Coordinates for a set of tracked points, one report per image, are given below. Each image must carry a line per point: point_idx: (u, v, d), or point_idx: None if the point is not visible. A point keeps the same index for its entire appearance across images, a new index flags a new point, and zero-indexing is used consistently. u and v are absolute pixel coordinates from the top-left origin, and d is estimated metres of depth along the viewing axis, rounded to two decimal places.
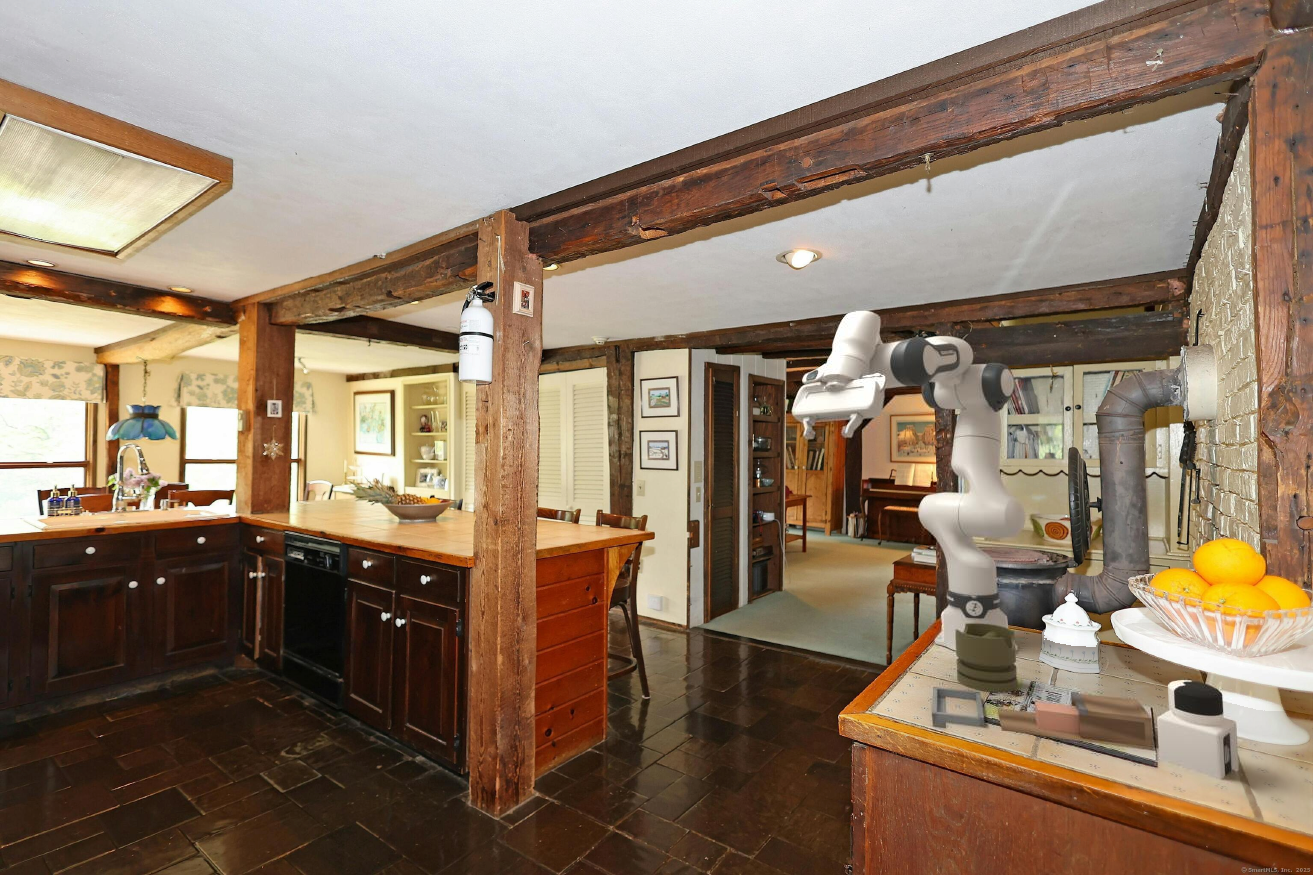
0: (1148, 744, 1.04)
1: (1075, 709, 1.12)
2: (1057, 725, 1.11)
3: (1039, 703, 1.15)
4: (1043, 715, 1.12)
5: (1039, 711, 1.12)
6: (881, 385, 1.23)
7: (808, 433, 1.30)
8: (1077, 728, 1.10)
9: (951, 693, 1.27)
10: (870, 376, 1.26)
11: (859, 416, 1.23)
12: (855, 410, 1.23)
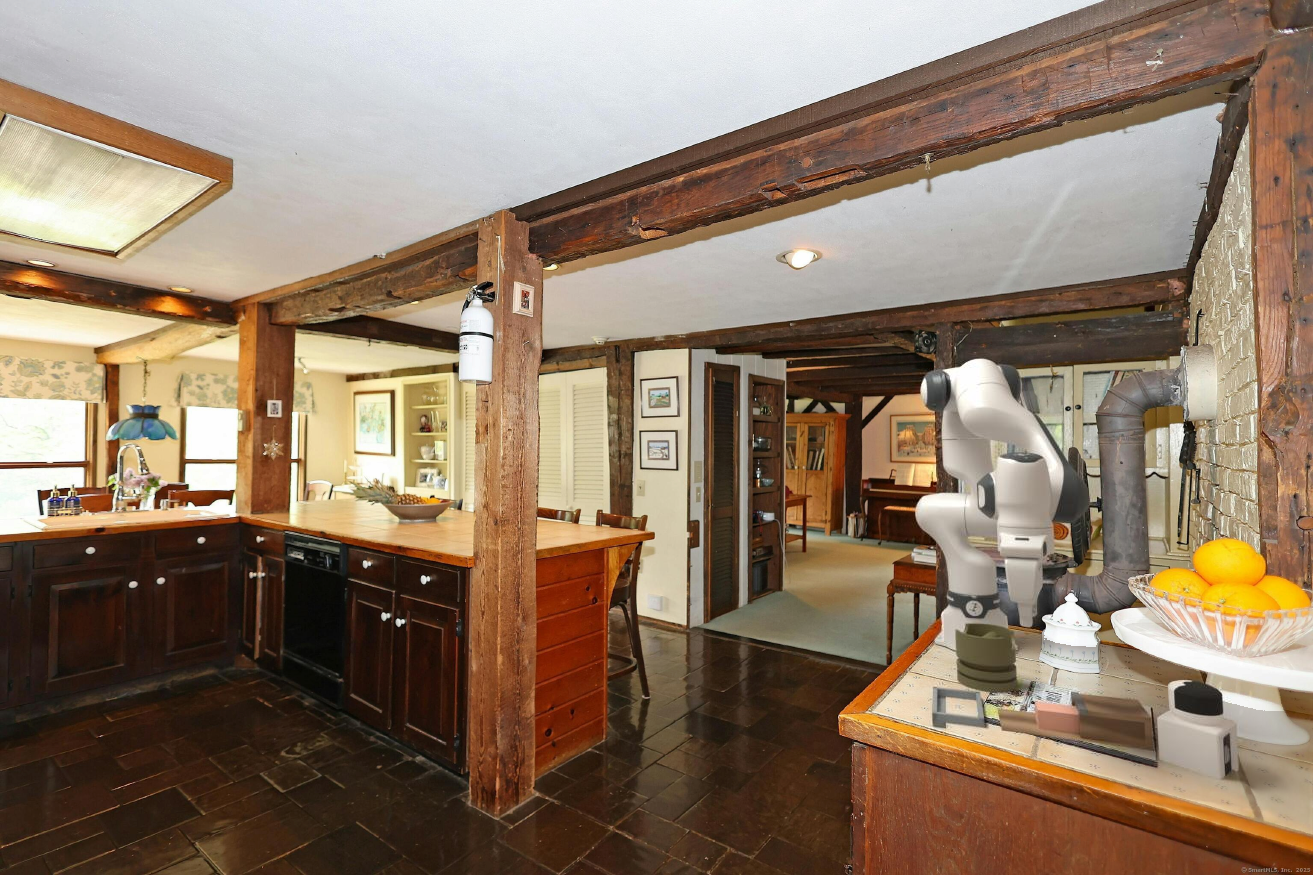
0: (1148, 744, 1.04)
1: (1075, 709, 1.12)
2: (1057, 725, 1.11)
3: (1039, 703, 1.15)
4: (1043, 715, 1.12)
5: (1039, 711, 1.12)
6: None
7: None
8: (1077, 728, 1.10)
9: (951, 693, 1.27)
10: None
11: None
12: (1040, 588, 1.17)
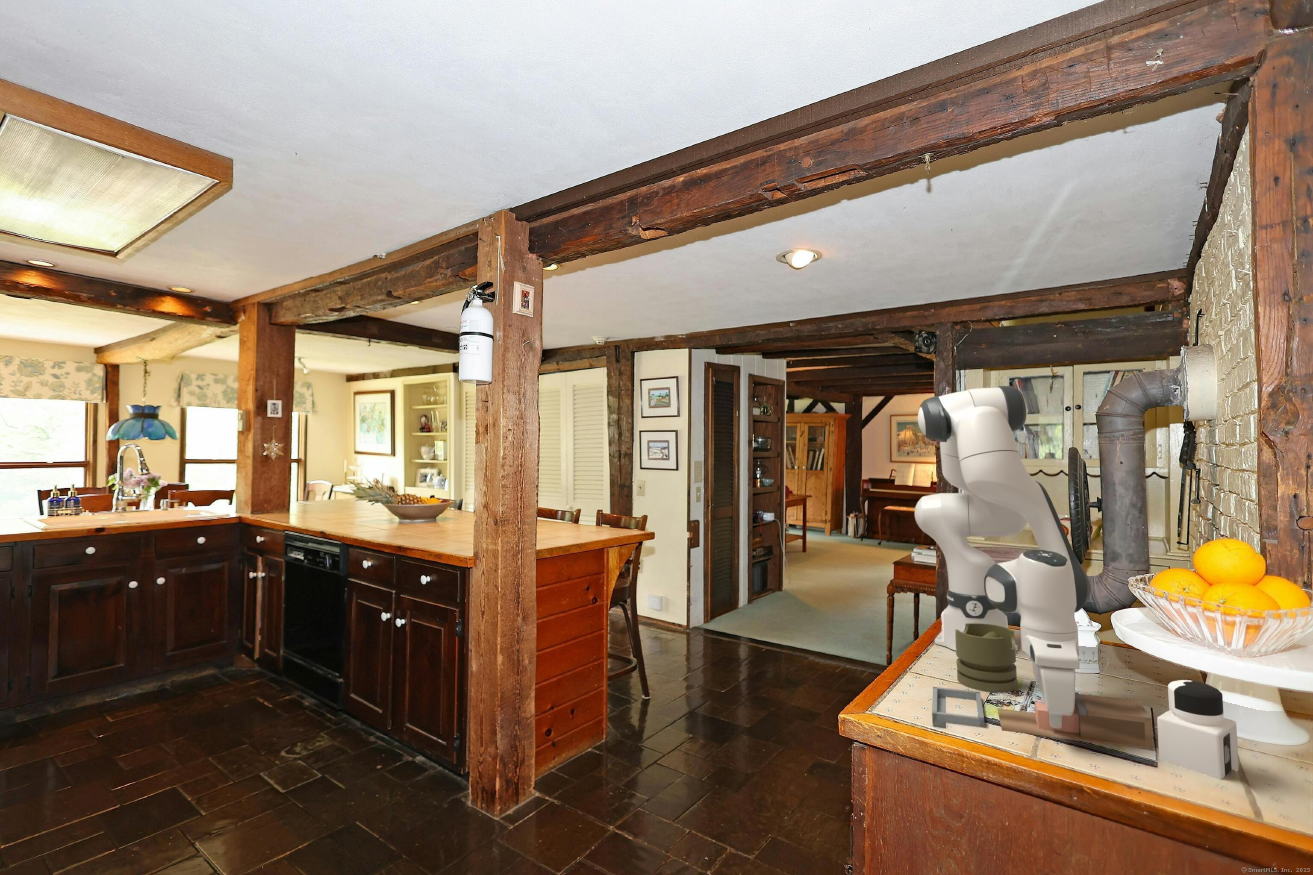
0: (1148, 744, 1.04)
1: (1075, 709, 1.12)
2: None
3: (1039, 703, 1.15)
4: (1043, 715, 1.12)
5: (1039, 711, 1.12)
6: None
7: None
8: (1077, 728, 1.10)
9: (951, 693, 1.27)
10: None
11: None
12: None
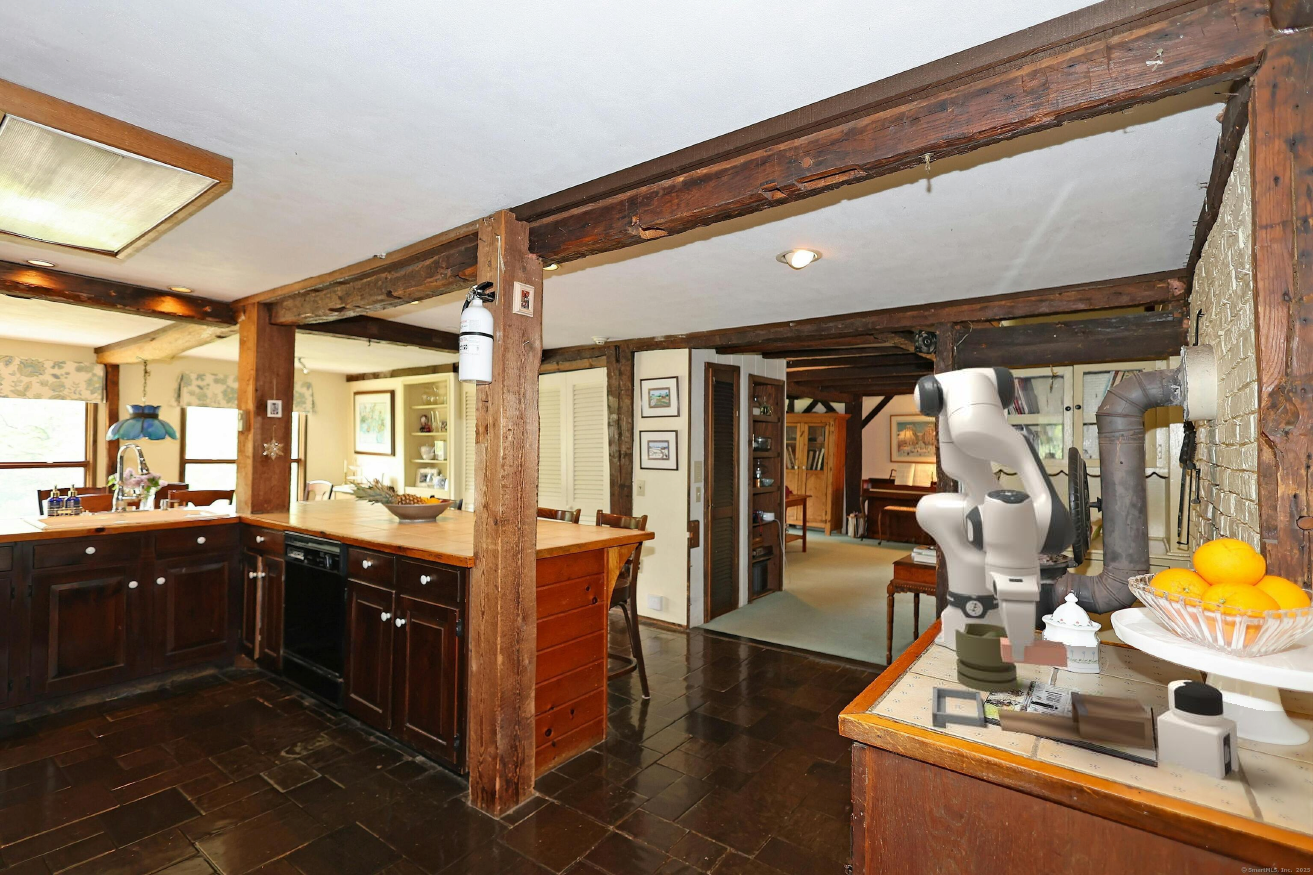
0: (1148, 744, 1.04)
1: (1038, 643, 1.14)
2: None
3: (1004, 639, 1.18)
4: (1007, 649, 1.14)
5: (1003, 645, 1.15)
6: None
7: None
8: (1040, 660, 1.12)
9: (951, 693, 1.27)
10: None
11: None
12: None
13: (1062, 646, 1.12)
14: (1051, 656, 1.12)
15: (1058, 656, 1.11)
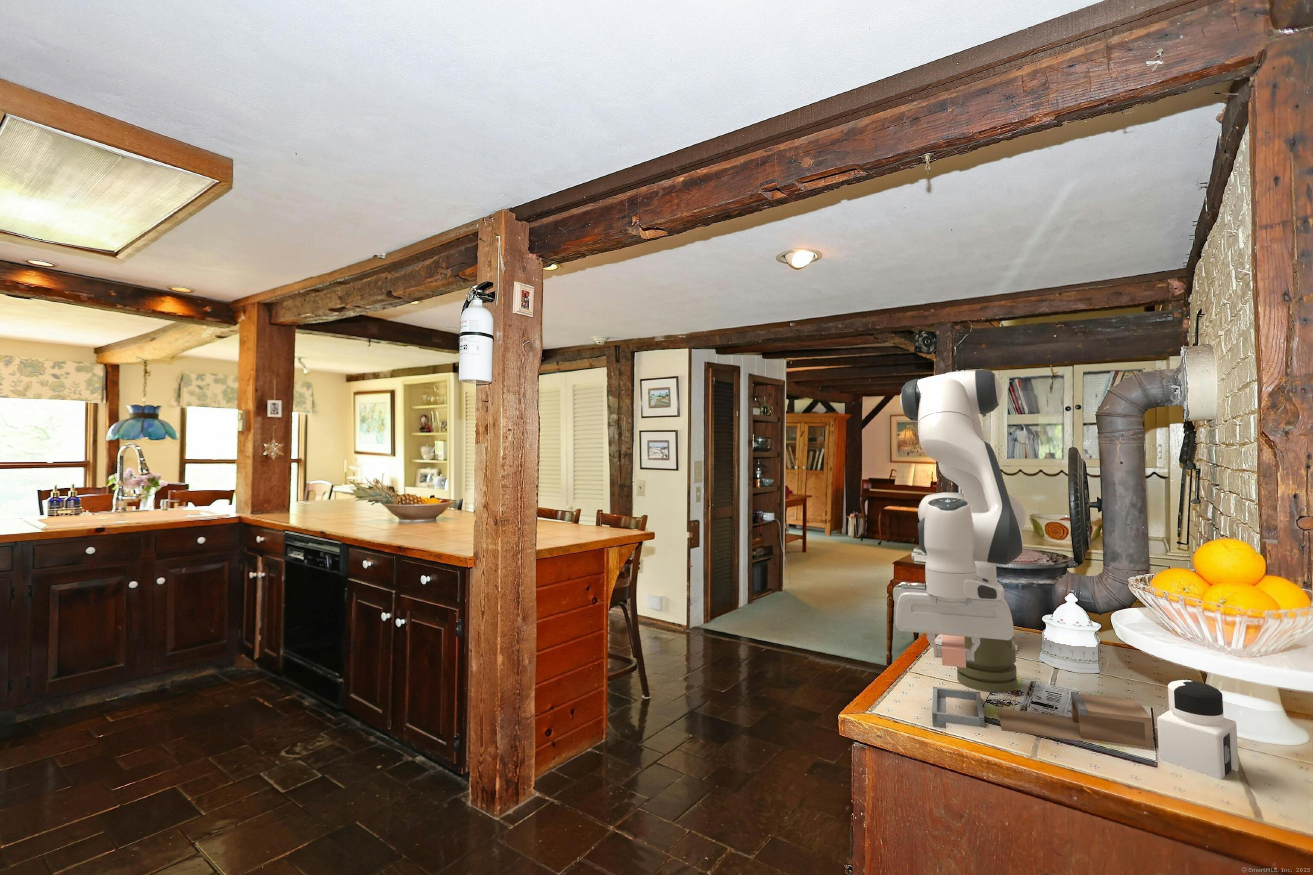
0: (1148, 744, 1.04)
1: (951, 639, 1.22)
2: None
3: (945, 647, 1.18)
4: (965, 654, 1.17)
5: None
6: None
7: None
8: None
9: (951, 693, 1.27)
10: None
11: None
12: None
13: None
14: None
15: None
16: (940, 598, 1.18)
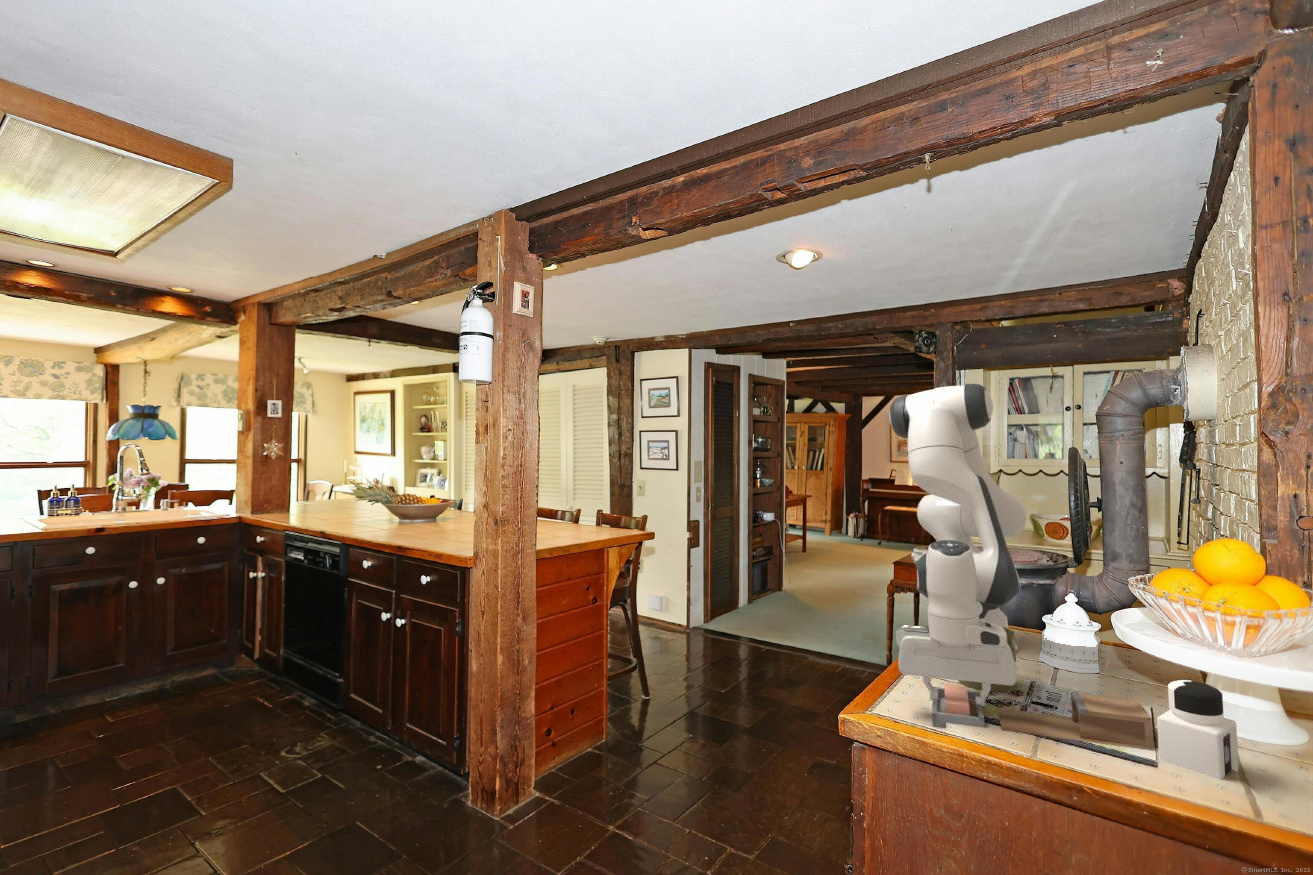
0: (1148, 744, 1.04)
1: (953, 692, 1.22)
2: None
3: (949, 702, 1.18)
4: None
5: None
6: None
7: None
8: None
9: None
10: None
11: None
12: None
13: (958, 685, 1.25)
14: None
15: None
16: (943, 643, 1.18)
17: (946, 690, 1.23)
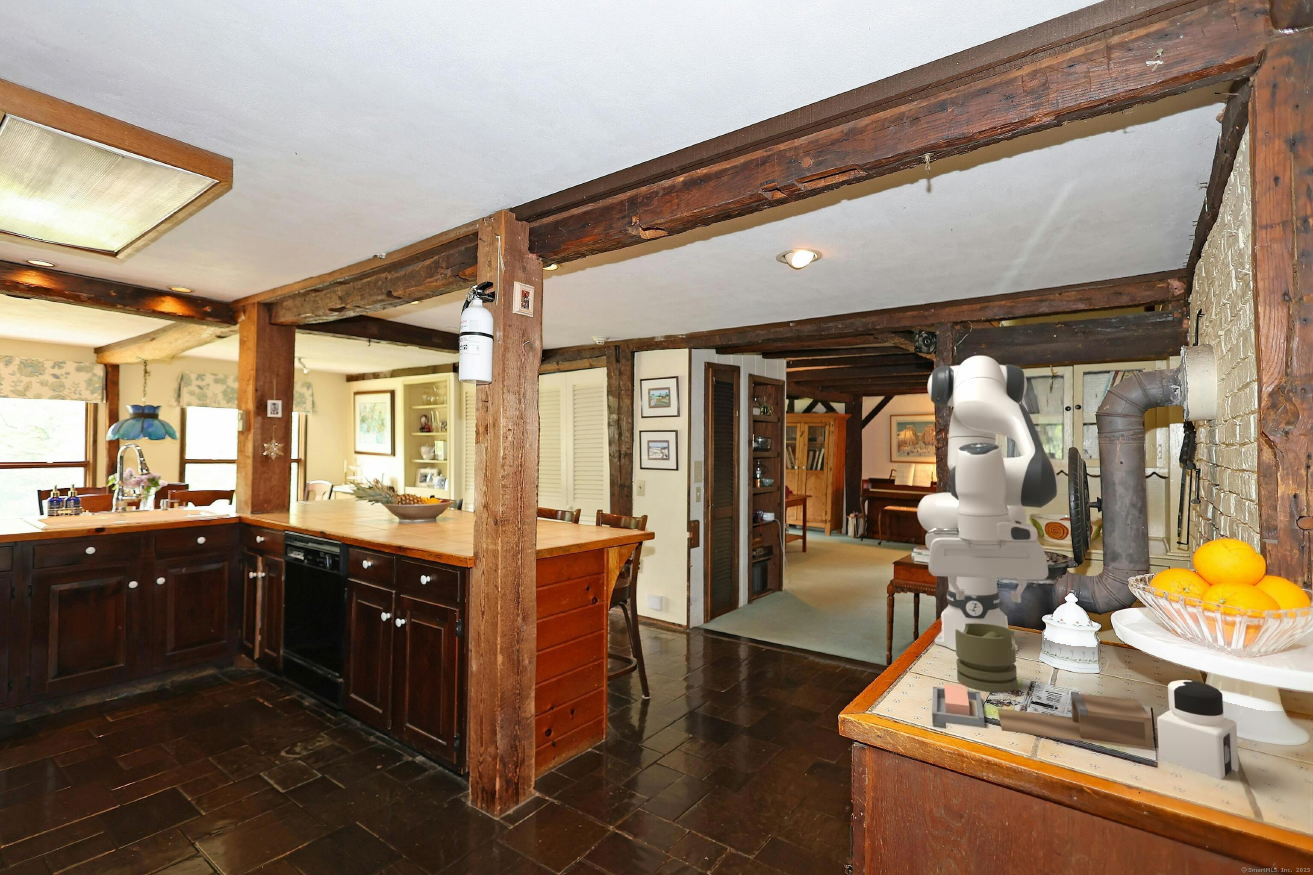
0: (1148, 744, 1.04)
1: (953, 692, 1.22)
2: None
3: (949, 702, 1.18)
4: None
5: None
6: None
7: None
8: None
9: None
10: None
11: None
12: None
13: (958, 685, 1.25)
14: None
15: None
16: (973, 541, 1.19)
17: (946, 690, 1.23)
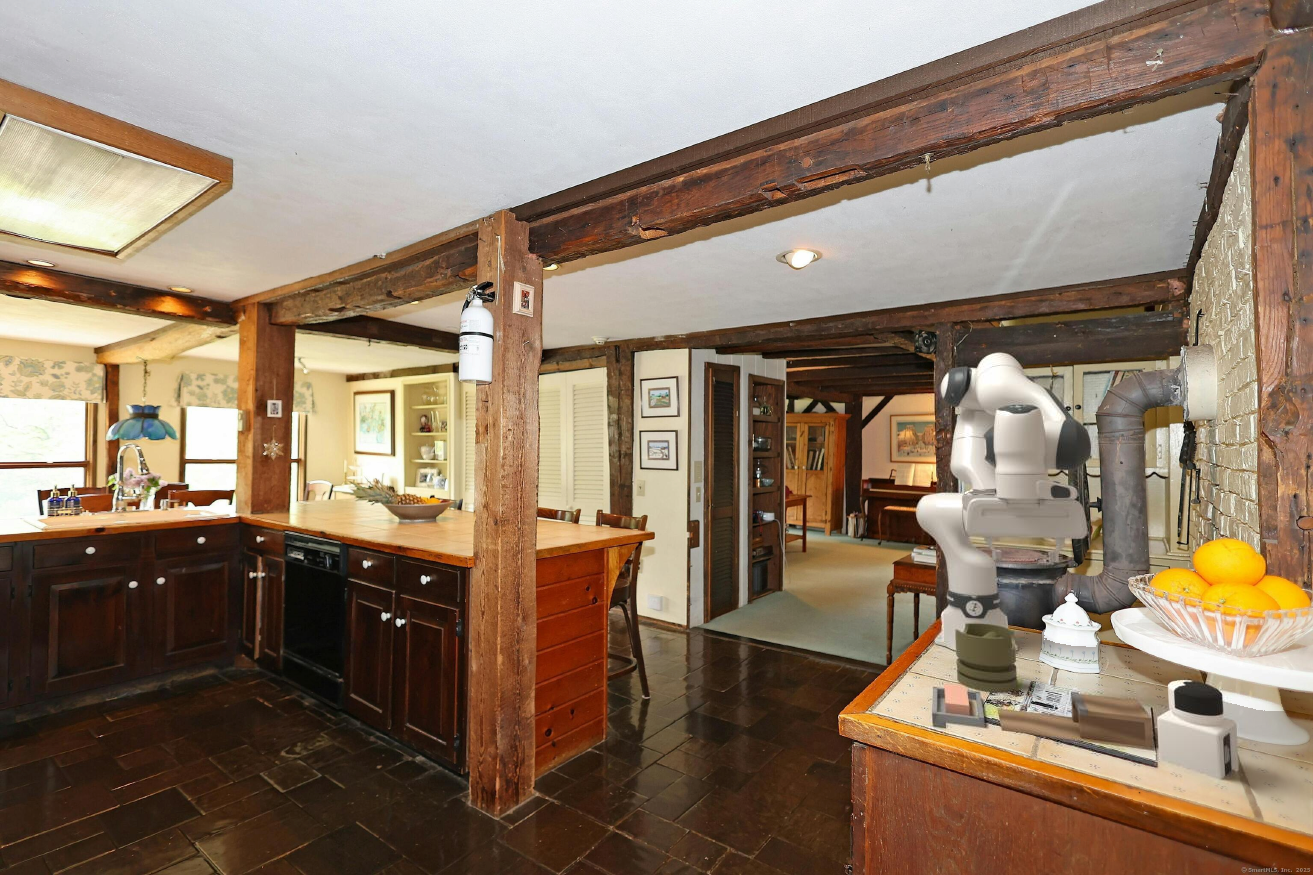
0: (1148, 744, 1.04)
1: (953, 692, 1.22)
2: None
3: (949, 702, 1.18)
4: None
5: None
6: None
7: None
8: None
9: None
10: None
11: (985, 537, 1.24)
12: None
13: (958, 685, 1.25)
14: None
15: None
16: (1012, 501, 1.20)
17: (946, 690, 1.23)
